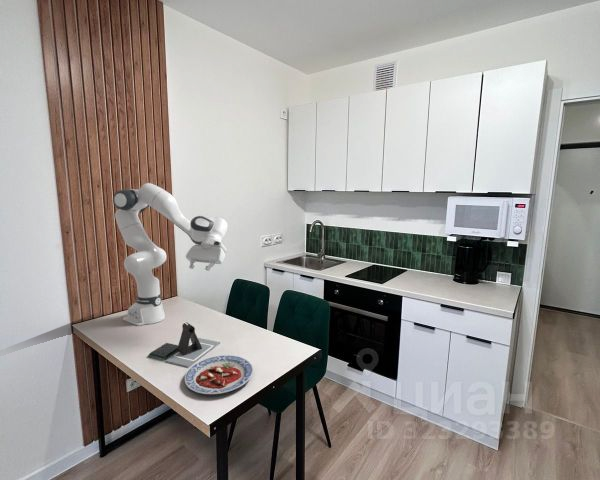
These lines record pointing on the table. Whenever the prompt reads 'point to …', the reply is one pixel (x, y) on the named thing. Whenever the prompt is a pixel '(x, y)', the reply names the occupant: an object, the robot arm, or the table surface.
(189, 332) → the phone stand
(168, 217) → the robot arm
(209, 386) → the ceramic plate
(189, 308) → the table surface
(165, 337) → the table surface
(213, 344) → the marked board
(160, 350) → the ink pad
